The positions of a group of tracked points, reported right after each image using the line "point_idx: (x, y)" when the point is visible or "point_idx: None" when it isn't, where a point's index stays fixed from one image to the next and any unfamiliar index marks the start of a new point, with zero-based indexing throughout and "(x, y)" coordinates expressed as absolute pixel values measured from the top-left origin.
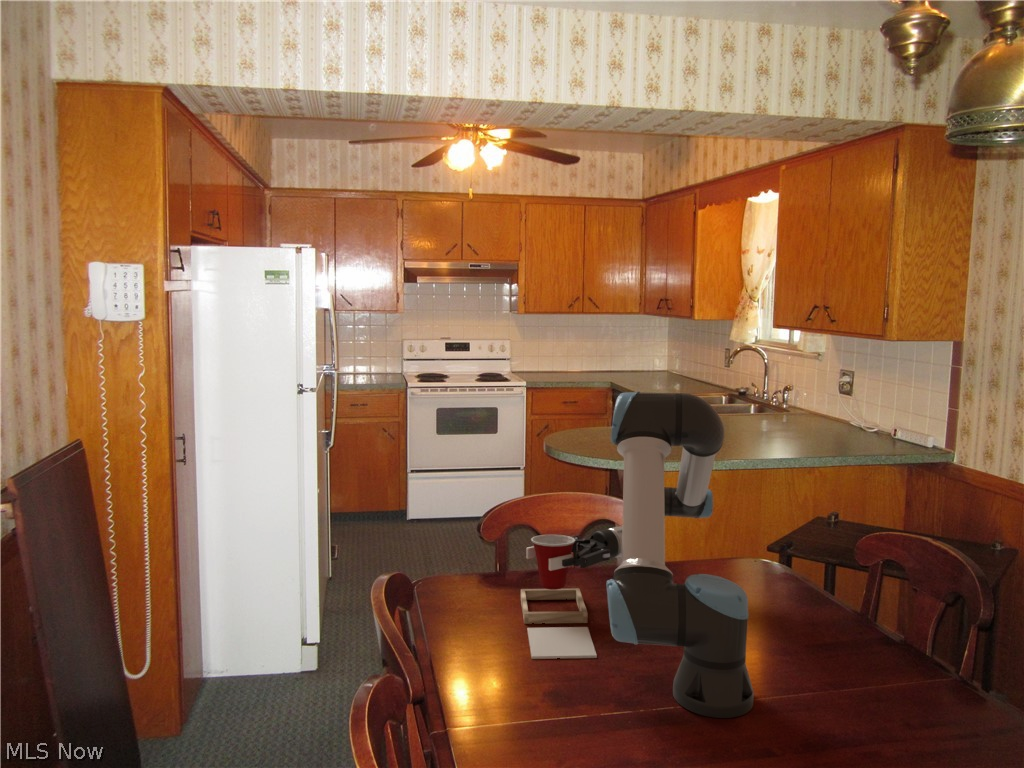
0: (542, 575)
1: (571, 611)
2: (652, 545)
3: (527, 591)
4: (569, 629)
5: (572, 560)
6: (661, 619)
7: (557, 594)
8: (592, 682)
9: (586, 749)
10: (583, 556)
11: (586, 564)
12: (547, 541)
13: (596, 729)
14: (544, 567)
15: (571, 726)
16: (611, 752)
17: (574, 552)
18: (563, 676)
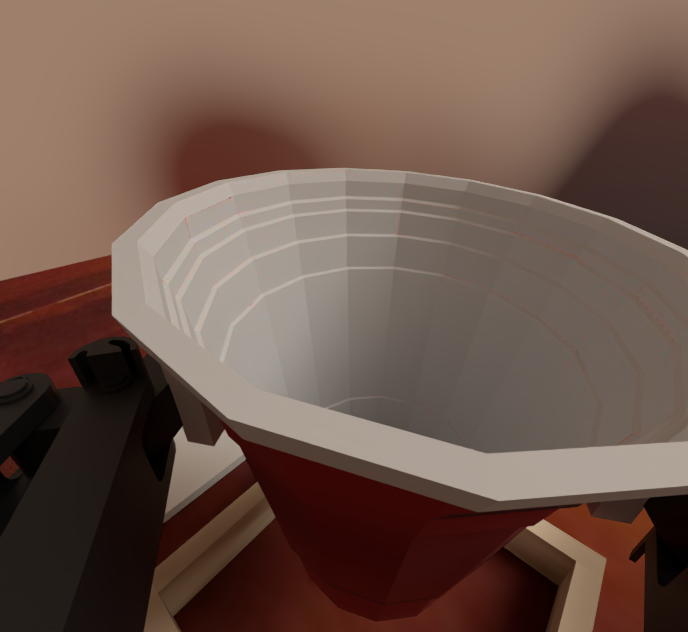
0: (379, 394)
1: (214, 539)
2: None
3: (571, 578)
4: (188, 476)
5: (151, 358)
6: None
7: None
8: (56, 351)
9: (51, 275)
10: (9, 413)
11: (5, 479)
12: (650, 370)
13: (38, 293)
14: (360, 347)
15: (80, 285)
16: (12, 282)
17: (129, 345)
18: (127, 337)
